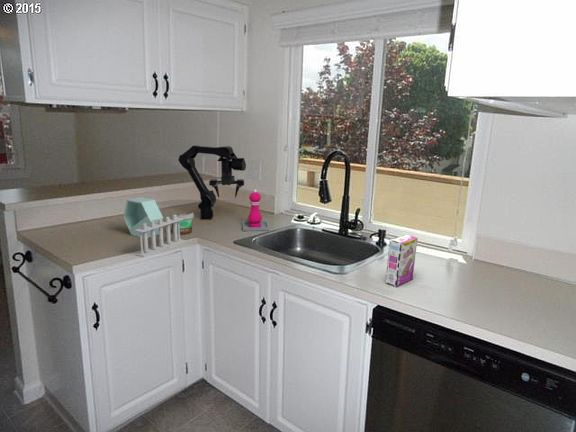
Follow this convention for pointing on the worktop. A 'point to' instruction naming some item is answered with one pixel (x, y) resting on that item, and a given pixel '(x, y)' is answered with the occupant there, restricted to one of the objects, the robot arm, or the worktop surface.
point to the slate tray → (263, 227)
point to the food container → (184, 223)
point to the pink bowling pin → (255, 210)
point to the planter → (141, 215)
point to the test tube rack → (153, 237)
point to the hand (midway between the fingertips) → (227, 197)
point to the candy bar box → (401, 260)
